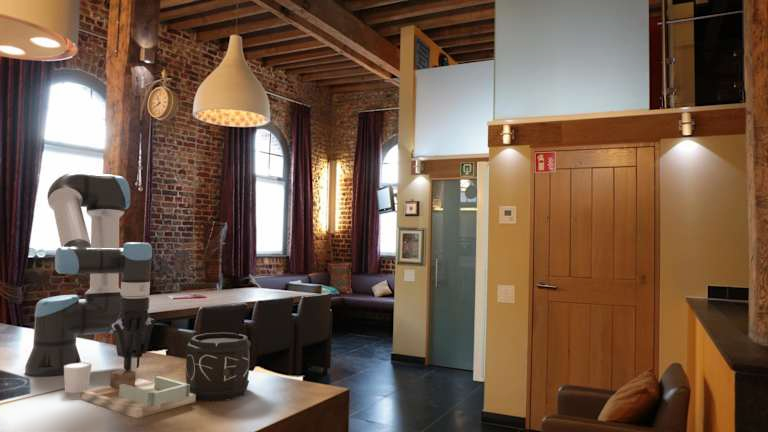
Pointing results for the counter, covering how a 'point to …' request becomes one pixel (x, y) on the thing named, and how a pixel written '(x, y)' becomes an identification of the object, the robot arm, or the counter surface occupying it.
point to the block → (122, 378)
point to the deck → (113, 401)
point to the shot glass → (77, 377)
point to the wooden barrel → (218, 365)
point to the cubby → (167, 392)
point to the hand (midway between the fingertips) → (130, 380)
